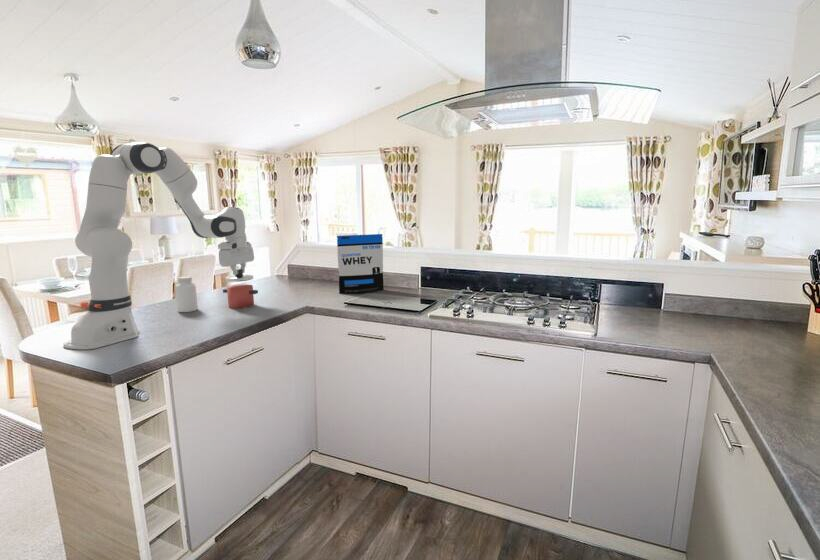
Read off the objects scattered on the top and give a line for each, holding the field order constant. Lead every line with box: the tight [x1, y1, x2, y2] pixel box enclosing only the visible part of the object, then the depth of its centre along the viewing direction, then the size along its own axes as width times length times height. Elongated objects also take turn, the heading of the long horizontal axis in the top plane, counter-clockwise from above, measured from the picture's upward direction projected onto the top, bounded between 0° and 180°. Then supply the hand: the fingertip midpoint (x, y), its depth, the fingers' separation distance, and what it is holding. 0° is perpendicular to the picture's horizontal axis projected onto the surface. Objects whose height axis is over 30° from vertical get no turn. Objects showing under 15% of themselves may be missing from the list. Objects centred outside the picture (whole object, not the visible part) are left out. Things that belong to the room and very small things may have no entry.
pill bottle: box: [175, 276, 199, 313], centre depth 190 cm, size 8×8×15 cm
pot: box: [222, 283, 259, 310], centre depth 198 cm, size 11×17×9 cm, turn 75°
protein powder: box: [336, 233, 385, 295], centre depth 225 cm, size 10×24×30 cm, turn 113°
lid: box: [224, 268, 254, 283], centre depth 197 cm, size 12×12×4 cm
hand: (238, 273), depth 197 cm, fingers closed on lid, 3 cm apart
